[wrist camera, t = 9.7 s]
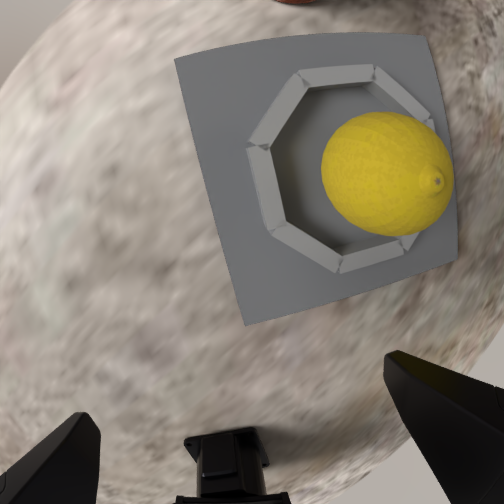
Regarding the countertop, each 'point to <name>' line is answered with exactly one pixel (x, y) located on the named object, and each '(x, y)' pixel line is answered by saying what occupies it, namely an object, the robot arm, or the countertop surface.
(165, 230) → the countertop surface
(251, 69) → the ring plate
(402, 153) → the lemon
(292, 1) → the supplement bottle
